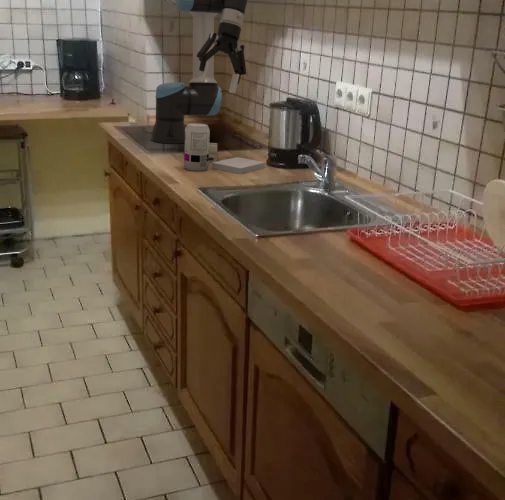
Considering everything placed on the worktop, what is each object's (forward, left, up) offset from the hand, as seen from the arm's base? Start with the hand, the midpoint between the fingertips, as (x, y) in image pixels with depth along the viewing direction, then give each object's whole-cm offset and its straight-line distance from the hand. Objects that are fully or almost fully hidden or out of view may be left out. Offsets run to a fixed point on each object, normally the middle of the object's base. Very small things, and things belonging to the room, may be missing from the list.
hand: (217, 87), depth 230 cm
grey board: (-3, +8, -27) cm, 28 cm away
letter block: (-5, -6, -27) cm, 28 cm away
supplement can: (+9, -1, -27) cm, 29 cm away
